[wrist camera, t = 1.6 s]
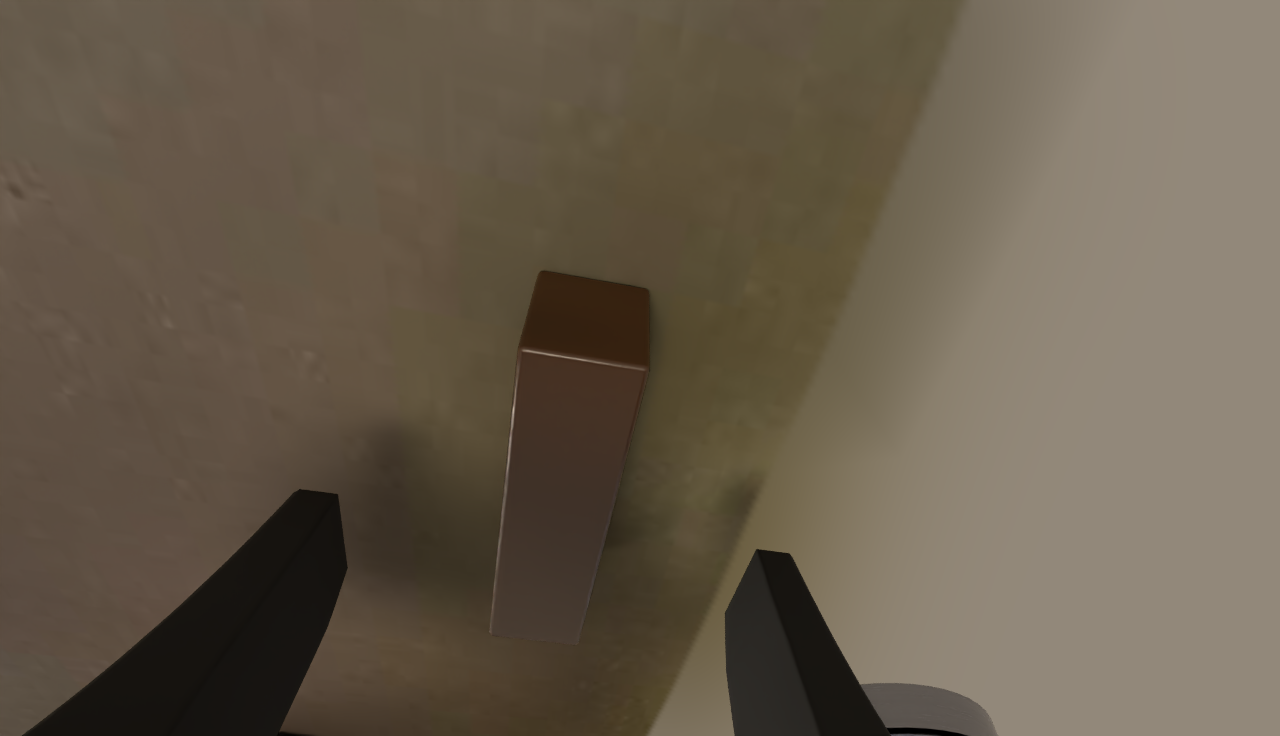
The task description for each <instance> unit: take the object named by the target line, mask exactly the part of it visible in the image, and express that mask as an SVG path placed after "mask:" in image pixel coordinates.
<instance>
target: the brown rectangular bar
mask: <svg viewBox="0 0 1280 736" xmlns="http://www.w3.org/2000/svg"><path fill="white" fill-rule="evenodd" d="M649 371H650V313H649V291H648V290H646V289H644V288H638V287H632V286H627V285H621V284H615V283H609V282H604V281H598V280H592V279H587V278H581V277H575V276H570V275H564V274H558V273H553V272H547V271H541V272H540V273H539V274H538V276H537V280H536V284H535V287H534V291H533V295H532V298H531V302H530V306H529V309H528V313H527V317H526V320H525V324H524V328H523V331H522V335H521V339H520V342H519V346H518V352H517V362H516V371H515V381H514V391H513V401H512V411H511V421H510V431H509V441H508V451H507V461H506V471H505V480H504V490H503V500H502V510H501V520H500V530H499V540H498V550H497V560H496V570H495V580H494V590H493V599H492V609H491V619H490V629H489V631H490V635H492V636H499V637H508V638H517V639H526V640H535V641H543V642H552V643H561V644H570V645H576V644H578V642H579V640H580V636H581V633H582V629H583V625H584V621H585V617H586V613H587V609H588V606H589V602H590V598H591V594H592V590H593V586H594V583H595V579H596V575H597V571H598V567H599V563H600V560H601V556H602V552H603V548H604V544H605V540H606V536H607V533H608V529H609V525H610V521H611V517H612V513H613V510H614V506H615V502H616V498H617V494H618V490H619V486H620V483H621V479H622V475H623V471H624V467H625V463H626V460H627V456H628V452H629V448H630V444H631V440H632V437H633V433H634V429H635V425H636V421H637V417H638V413H639V410H640V406H641V402H642V398H643V394H644V390H645V387H646V383H647V379H648V375H649Z"/></svg>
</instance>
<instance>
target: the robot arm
mask: <svg viewBox="0 0 1280 736" xmlns="http://www.w3.org/2000/svg"><path fill="white" fill-rule="evenodd" d="M347 568H348V567H347V560H346V552H345V544H344V537H343V529H342V521H341V514H340V506H339V499H338V494H333V493H325V492H318V491H310V490H302V489H299V490H298V491H296V492H294V493H293V494H292V495H291V496H290V497H289V498H288V499H287V500H286V501H285V502H284V503H283V505H282V506H281V507H280V508H279V509H278V510H277V511H276V512H275V513H274V514H273V515H272V516H271V517H270V518H269V519H268V520H267V521H266V522H265V523H264V524H263V525H262V526H261V527H260V528H259V530H258V531H257V532H256V533H255V534H254V535H253V536H252V537H251V538H250V539H249V540H248V541H247V542H246V543H245V544H244V545H243V546H242V547H241V548H240V549H239V550H238V551H237V552H236V553H235V554H234V555H233V556H232V557H231V558H230V559H229V560H227V561H226V562H225V563H224V564H223V565H222V566H221V567H220V568H219V569H218V570H217V571H216V572H215V573H214V574H213V575H212V576H211V577H210V578H209V579H208V580H206V581H205V582H204V583H203V584H202V585H201V586H200V587H199V588H198V589H197V590H196V591H195V592H194V593H193V594H192V595H191V596H190V597H188V598H187V599H186V600H185V601H184V602H183V603H182V604H181V605H180V606H179V607H178V608H177V609H175V610H174V611H173V612H172V613H171V614H170V615H169V616H168V617H166V618H165V619H164V620H163V621H162V622H161V623H160V624H158V625H157V626H156V627H155V628H154V629H153V630H152V631H150V632H149V633H148V634H147V635H146V636H145V637H144V638H142V639H141V640H140V641H139V642H138V643H137V644H136V645H134V646H133V647H132V648H131V649H130V650H129V651H127V652H126V653H125V654H124V655H123V656H122V657H121V658H119V659H118V660H117V661H116V662H115V663H113V664H112V665H111V666H110V667H109V668H107V669H106V670H105V671H104V672H103V673H101V674H100V675H99V676H98V677H96V678H95V679H94V680H93V681H92V682H90V683H89V684H88V685H87V686H85V687H84V688H83V689H82V690H80V691H79V692H78V693H77V694H75V695H74V696H73V697H72V698H70V699H69V700H68V701H66V702H65V703H64V704H63V705H61V706H60V707H59V708H57V709H56V710H55V711H54V712H52V713H51V714H50V715H48V716H47V717H46V718H45V719H43V720H42V721H41V722H39V723H38V724H37V725H35V726H34V727H33V728H31V729H30V730H29V731H27V732H26V733H25V734H23V735H22V736H277V734H278V732H279V730H280V728H281V726H282V724H283V722H284V719H285V717H286V715H287V713H288V711H289V709H290V707H291V705H292V702H293V700H294V698H295V696H296V694H297V692H298V690H299V688H300V686H301V683H302V681H303V679H304V677H305V675H306V673H307V671H308V668H309V666H310V664H311V662H312V660H313V658H314V656H315V653H316V651H317V649H318V647H319V645H320V643H321V640H322V638H323V636H324V634H325V632H326V629H327V627H328V624H329V621H330V618H331V616H332V613H333V610H334V607H335V604H336V601H337V598H338V595H339V592H340V589H341V586H342V583H343V580H344V577H345V574H346V571H347ZM725 640H726V641H725V645H726V673H727V681H728V689H729V696H730V703H731V712H732V720H733V727H734V734H735V736H891V735H890V733H889V732H888V730H887V728H886V727H885V725H884V724H883V722H882V720H881V719H880V717H879V716H878V714H877V712H876V711H875V709H874V707H873V706H872V704H871V702H870V701H869V699H868V697H867V696H866V694H865V692H864V691H863V689H862V687H861V686H860V684H859V682H858V680H857V679H856V677H855V675H854V674H853V672H852V670H851V668H850V667H849V664H848V663H847V661H846V659H845V657H844V656H843V654H842V652H841V650H840V649H839V647H838V645H837V643H836V641H835V639H834V638H833V636H832V634H831V632H830V630H829V628H828V626H827V625H826V623H825V621H824V619H823V617H822V615H821V613H820V611H819V609H818V607H817V605H816V603H815V601H814V600H813V598H812V596H811V594H810V592H809V590H808V588H807V586H806V584H805V582H804V580H803V578H802V576H801V574H800V572H799V570H798V568H797V566H796V564H795V562H794V560H793V558H792V556H791V555H790V554H789V553H782V552H774V551H767V550H759V549H757V550H756V551H755V553H754V555H753V557H752V560H751V561H750V563H749V566H748V567H747V569H746V571H745V573H744V575H743V578H742V580H741V582H740V584H739V586H738V588H737V590H736V592H735V594H734V596H733V598H732V600H731V602H730V604H729V606H728V608H727V610H726V612H725Z"/></svg>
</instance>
